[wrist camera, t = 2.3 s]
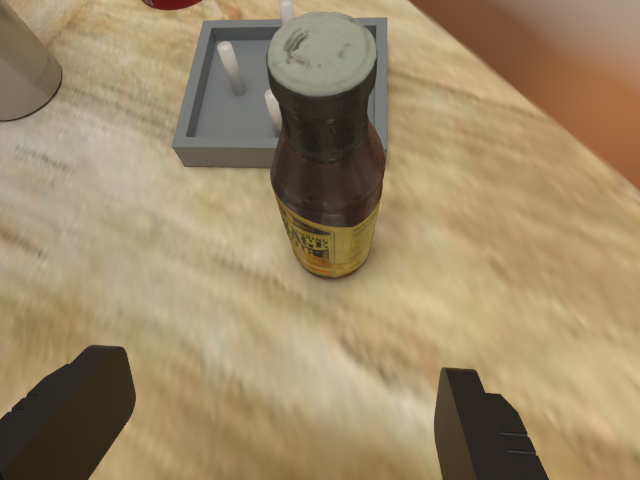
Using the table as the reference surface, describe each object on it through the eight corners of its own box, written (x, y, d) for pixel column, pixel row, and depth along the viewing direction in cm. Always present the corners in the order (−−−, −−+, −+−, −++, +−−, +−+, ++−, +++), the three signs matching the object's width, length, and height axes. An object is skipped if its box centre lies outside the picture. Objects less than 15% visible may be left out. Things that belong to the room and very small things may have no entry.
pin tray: (185, 166, 37) (152, 119, 31) (212, 45, 42) (190, -14, 36) (384, 169, 35) (390, 120, 29) (384, 44, 41) (390, -19, 35)
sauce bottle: (280, 236, 33) (194, 25, 15) (343, 199, 34) (335, -42, 16) (322, 301, 31) (280, 145, 13) (389, 259, 32) (440, 57, 13)
